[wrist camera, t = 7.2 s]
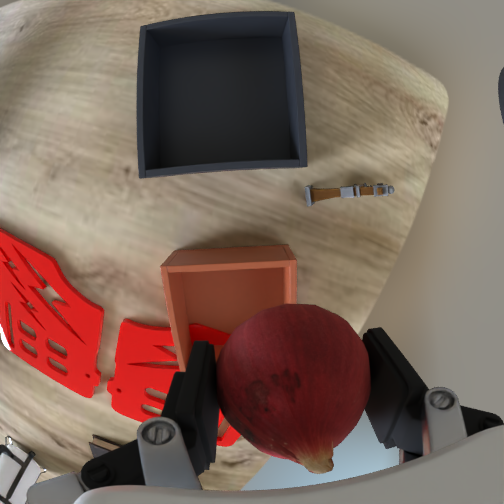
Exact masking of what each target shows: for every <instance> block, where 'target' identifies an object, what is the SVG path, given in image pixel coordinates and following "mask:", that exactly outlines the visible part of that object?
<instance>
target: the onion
mask: <svg viewBox="0 0 504 504" xmlns="http://www.w3.org/2000/svg"><path fill="white" fill-rule="evenodd" d="M216 390H217V402H218V405H219V407H220V410H221V412H222V414H223V416H224V417H225V419H226V420H227V421H228V422H229V424H230V425H231V426H232V427H233V428H234V429H235V430H236V431H237V432H238V433H240V434H241V435H242V436H243V437H244V438H245V439H246V440H247V441H248V442H250V443H251V444H252V445H253V446H254V447H256V448H257V449H258V450H260V451H261V452H264V453H266V454H269V455H271V456H274V457H278V458H282V459H289V460H291V461H294V462H296V463H298V464H301V465H303V466H305V467H306V468H307V469H308V471H309V472H312V473H316V474H322V473H326V472H329V471H331V470H332V469H333V466H334V464H333V461H332V456H333V448H335V447H336V446H338V444H340V443H341V442H342V441H343V440H344V439H345V438H346V436H348V434H349V433H350V432H351V431H352V430H353V429H354V427H355V426H356V425H357V423H358V421H359V419H360V418H361V416H362V413H363V411H364V409H365V406H366V404H367V402H368V399H369V395H370V391H371V375H370V366H369V357H368V352H367V350H366V348H365V345H364V343H363V341H362V340H361V339H360V337H359V336H358V335H357V333H356V332H355V331H354V330H353V328H352V327H351V326H350V324H349V323H348V322H347V321H346V320H344V319H343V318H342V317H340V316H339V315H337V314H335V313H332V312H330V311H328V310H325V309H323V308H321V307H319V306H316V305H308V304H283V305H279V306H275V307H271V308H267V309H264V310H262V311H260V312H258V313H257V314H255V315H254V316H252V317H251V318H249V319H248V320H246V321H245V322H243V323H242V324H240V325H239V326H237V327H236V328H235V329H234V331H233V332H232V334H231V335H230V337H229V338H228V340H227V341H226V343H225V344H224V346H223V347H222V349H221V351H220V354H219V357H218V359H217V362H216Z"/></svg>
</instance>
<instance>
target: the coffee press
mask: <svg viewBox="0 0 504 504" xmlns="http://www.w3.org/2000/svg"><path fill="white" fill-rule="evenodd" d="M7 437H8V438H9V440H10V443H11V444H7ZM7 437H5V442H6V444H5V446H4V445H0V504H26V502H27V497H26V494H27V490H28V489H29V487H30V486H32V485H34V484H35V483H36V481H37V479H38V478H39V476H40V474H41V473H40V471H41V470H40V467H39V465H38V464H37V463H36V462H35V461H34V460H33V457H34V456H35V453H34V452H33V451H30V452H29V453H28V454H27V453H25V452H24V451H23V450H21V449H20V448H18V447H17V446H15V445H13V444H12V442H11V438H10V437H9V436H7ZM43 469H44V472H42V473H45V472H46V469H45V468H43Z"/></svg>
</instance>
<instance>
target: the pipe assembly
mask: <svg viewBox="0 0 504 504" xmlns="http://www.w3.org/2000/svg"><path fill="white" fill-rule="evenodd" d="M305 193H306V201H307V207H308V206H312V205H313V204H314V203H315V201H319V200H323V199H329V198H334V197H341V198H346V197H353V198H354V196H357V197H360V196H363V195H374V197H375V196H388V193H389V194H392V193H394V187H393V186H388V185H387V184H386V185H383V183H377V185H373V186H371V185H370V187H369V186H367V185H366V183H364V184H363V185H356V184H354V186H349V187H340V188H335V189H316V188H313V186H309V185H308V186H306V187H305Z"/></svg>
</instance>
